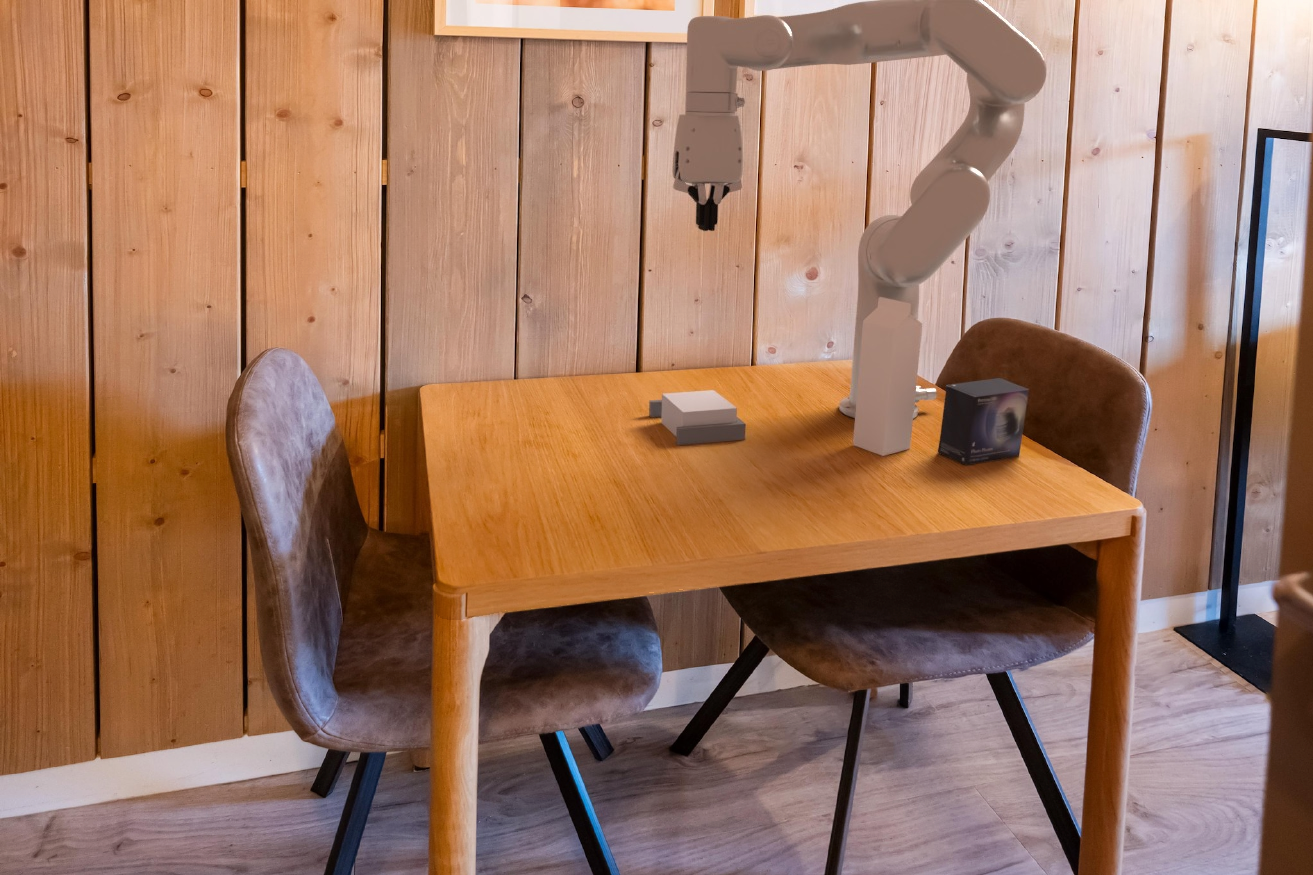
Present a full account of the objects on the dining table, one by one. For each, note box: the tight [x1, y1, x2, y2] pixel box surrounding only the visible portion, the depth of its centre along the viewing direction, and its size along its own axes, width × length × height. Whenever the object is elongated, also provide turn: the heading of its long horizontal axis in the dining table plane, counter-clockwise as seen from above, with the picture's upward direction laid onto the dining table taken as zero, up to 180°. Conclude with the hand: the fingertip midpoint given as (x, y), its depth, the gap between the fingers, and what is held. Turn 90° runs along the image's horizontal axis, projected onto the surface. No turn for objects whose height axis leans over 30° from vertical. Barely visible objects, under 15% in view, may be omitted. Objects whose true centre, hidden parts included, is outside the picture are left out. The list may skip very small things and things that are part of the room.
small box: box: [937, 377, 1030, 466], centre depth 154 cm, size 11×6×10 cm, turn 117°
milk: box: [852, 297, 923, 457], centre depth 155 cm, size 6×6×22 cm
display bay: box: [648, 399, 747, 446], centre depth 165 cm, size 10×15×2 cm
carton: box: [660, 389, 738, 437], centre depth 164 cm, size 8×10×5 cm
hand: (706, 229), depth 165 cm, fingers closed
